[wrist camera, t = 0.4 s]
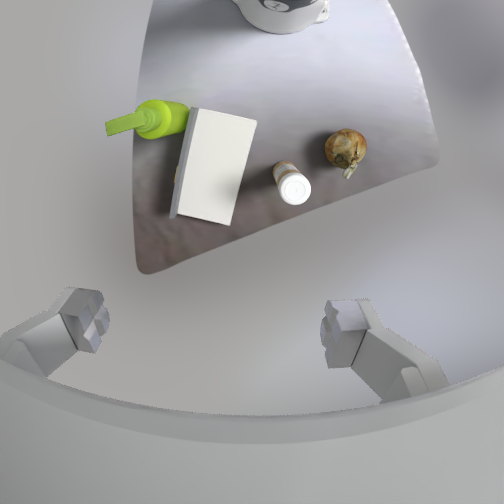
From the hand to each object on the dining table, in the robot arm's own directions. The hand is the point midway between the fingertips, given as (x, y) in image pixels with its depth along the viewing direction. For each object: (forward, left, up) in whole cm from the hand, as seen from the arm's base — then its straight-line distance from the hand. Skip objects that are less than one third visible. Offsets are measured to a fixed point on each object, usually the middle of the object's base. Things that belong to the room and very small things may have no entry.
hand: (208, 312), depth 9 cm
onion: (-6, +17, -44) cm, 48 cm away
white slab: (+4, -5, -44) cm, 44 cm away
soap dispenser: (-3, -14, -44) cm, 46 cm away
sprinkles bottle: (+2, +8, -44) cm, 45 cm away
